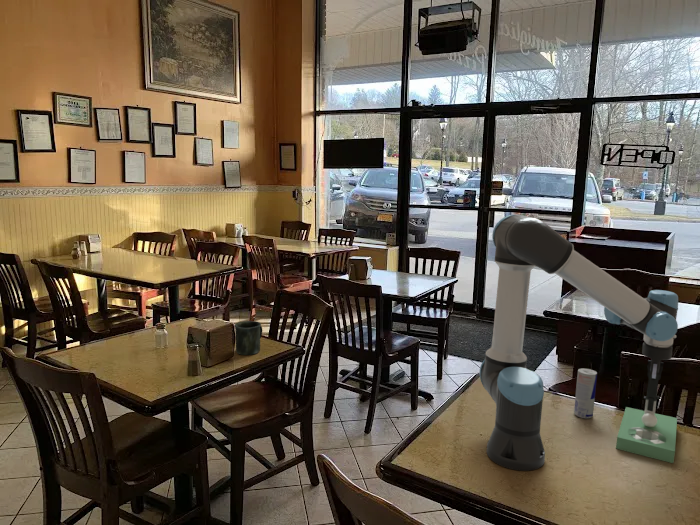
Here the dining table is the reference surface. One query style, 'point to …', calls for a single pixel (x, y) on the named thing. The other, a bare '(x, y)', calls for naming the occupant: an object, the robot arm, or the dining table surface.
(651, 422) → the ball
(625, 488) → the dining table surface
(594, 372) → the beverage can
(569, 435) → the dining table surface
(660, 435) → the green
